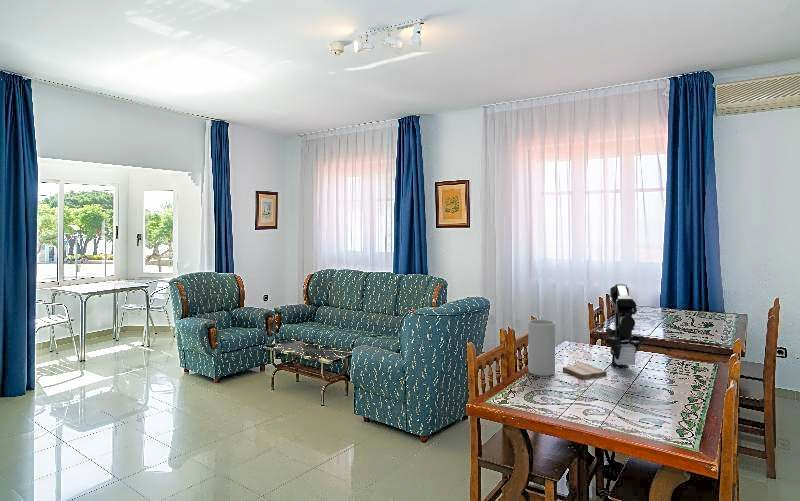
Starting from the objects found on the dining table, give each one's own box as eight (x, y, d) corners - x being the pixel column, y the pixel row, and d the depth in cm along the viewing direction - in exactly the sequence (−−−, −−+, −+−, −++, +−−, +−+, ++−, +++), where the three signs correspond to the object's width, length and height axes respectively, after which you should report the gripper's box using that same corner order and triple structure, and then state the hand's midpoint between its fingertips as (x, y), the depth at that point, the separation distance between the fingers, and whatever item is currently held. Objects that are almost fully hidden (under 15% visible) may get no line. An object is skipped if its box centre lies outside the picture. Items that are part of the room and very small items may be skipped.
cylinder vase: (552, 369, 241) (552, 319, 240) (557, 376, 229) (557, 324, 227) (526, 368, 242) (526, 319, 241) (530, 376, 230) (530, 324, 229)
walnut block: (585, 367, 242) (585, 363, 242) (606, 375, 229) (606, 371, 229) (562, 371, 237) (562, 367, 237) (582, 379, 224) (582, 375, 224)
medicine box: (631, 362, 226) (632, 344, 225) (635, 365, 221) (635, 346, 221) (614, 362, 226) (614, 344, 226) (617, 365, 222) (618, 346, 222)
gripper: (626, 320, 234) (626, 352, 234) (596, 323, 227) (596, 356, 228) (645, 324, 223) (645, 357, 224) (614, 327, 217) (614, 362, 217)
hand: (624, 358), depth 224 cm, fingers closed on medicine box, 9 cm apart
